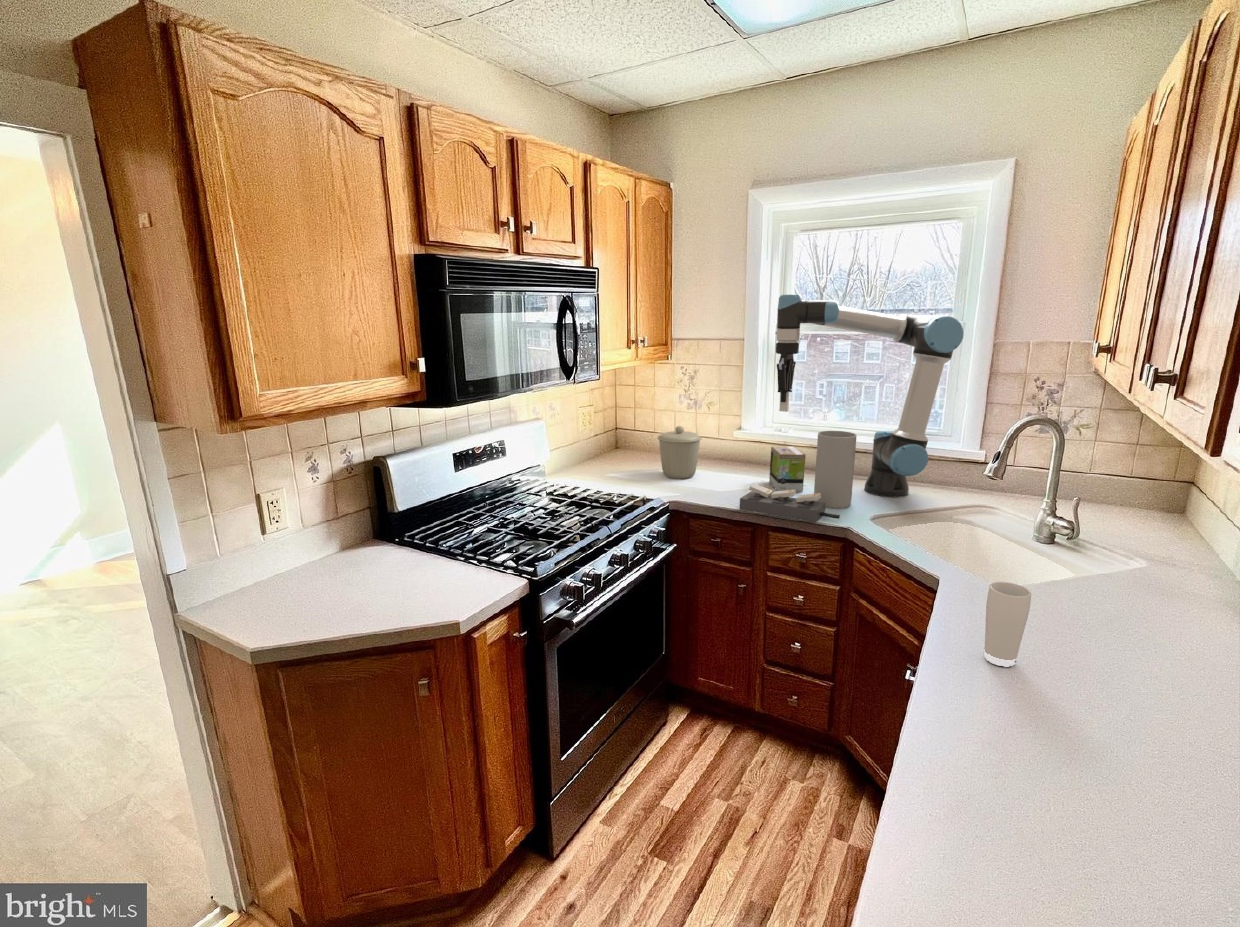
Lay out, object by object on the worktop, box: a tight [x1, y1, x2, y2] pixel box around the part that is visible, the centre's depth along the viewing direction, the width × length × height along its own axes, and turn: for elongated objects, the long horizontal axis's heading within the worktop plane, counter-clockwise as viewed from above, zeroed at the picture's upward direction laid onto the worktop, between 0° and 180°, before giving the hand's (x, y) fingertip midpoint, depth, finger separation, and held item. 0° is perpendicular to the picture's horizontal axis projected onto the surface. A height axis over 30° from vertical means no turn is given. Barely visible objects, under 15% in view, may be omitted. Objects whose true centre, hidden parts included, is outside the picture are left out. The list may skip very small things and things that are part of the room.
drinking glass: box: [984, 581, 1032, 660], centre depth 115 cm, size 7×7×15 cm
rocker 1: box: [748, 483, 774, 498], centre depth 212 cm, size 7×4×2 cm, turn 56°
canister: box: [656, 425, 703, 480], centre depth 252 cm, size 18×18×21 cm
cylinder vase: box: [813, 430, 858, 510], centre depth 212 cm, size 12×12×25 cm
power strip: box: [739, 491, 841, 523], centre depth 205 cm, size 32×10×5 cm, turn 56°
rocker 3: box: [795, 493, 821, 502], centre depth 203 cm, size 7×4×2 cm, turn 56°
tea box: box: [768, 446, 807, 493], centre depth 235 cm, size 15×10×15 cm
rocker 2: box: [771, 489, 797, 498], centre depth 207 cm, size 7×4×2 cm, turn 57°
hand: (783, 411), depth 212 cm, fingers closed
